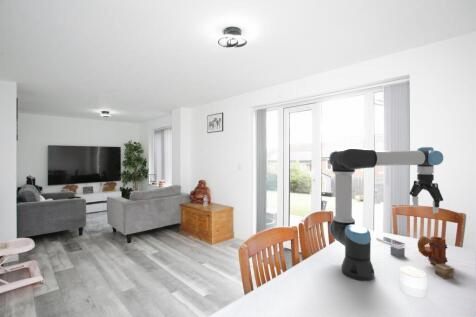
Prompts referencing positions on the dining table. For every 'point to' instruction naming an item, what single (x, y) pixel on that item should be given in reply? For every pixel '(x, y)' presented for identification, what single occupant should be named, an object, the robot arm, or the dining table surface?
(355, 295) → the dining table surface
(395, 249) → the slate block
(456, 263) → the dining table surface
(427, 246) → the terracotta block
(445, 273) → the walnut block
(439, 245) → the mug
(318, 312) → the dining table surface
